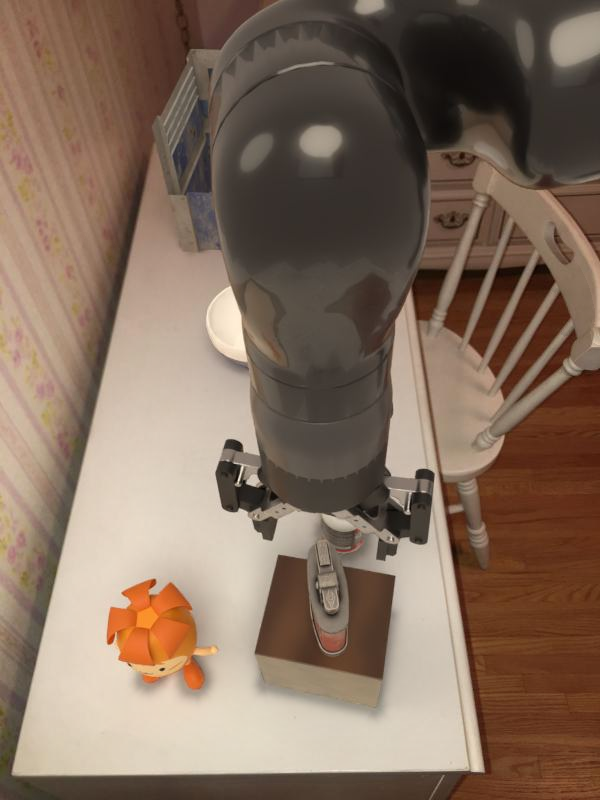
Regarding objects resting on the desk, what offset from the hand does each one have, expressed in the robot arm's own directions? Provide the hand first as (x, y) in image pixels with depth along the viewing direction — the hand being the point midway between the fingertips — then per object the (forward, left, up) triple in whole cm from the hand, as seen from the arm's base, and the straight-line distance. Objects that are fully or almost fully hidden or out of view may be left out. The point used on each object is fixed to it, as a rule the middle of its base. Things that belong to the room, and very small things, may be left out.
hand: (326, 538), depth 49 cm
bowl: (+18, -41, -29) cm, 53 cm away
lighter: (0, 0, -17) cm, 17 cm away
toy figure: (+16, +5, -29) cm, 33 cm away
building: (+26, -73, -29) cm, 83 cm away
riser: (0, 0, -29) cm, 29 cm away
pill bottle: (+1, -13, -29) cm, 32 cm away
